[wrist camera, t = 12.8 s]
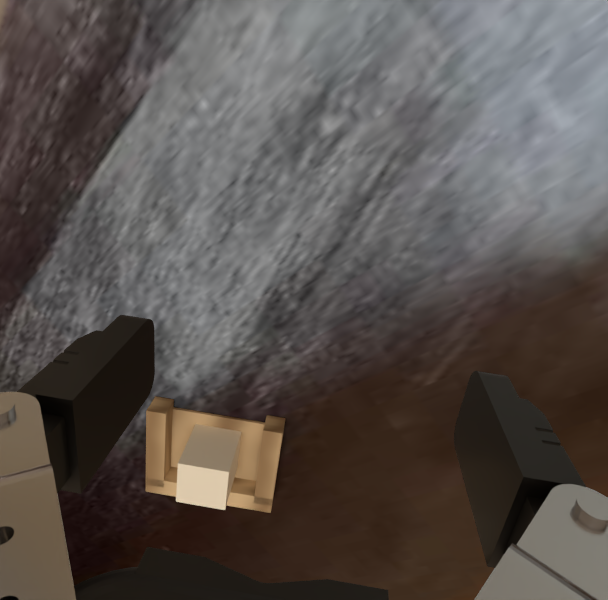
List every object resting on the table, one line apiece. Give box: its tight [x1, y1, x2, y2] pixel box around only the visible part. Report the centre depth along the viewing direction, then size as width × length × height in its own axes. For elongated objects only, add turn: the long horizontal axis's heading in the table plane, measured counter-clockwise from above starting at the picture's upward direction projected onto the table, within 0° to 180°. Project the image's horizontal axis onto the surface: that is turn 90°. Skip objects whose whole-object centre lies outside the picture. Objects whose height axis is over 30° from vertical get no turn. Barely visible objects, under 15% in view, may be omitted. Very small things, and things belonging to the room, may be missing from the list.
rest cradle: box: [146, 396, 285, 513], centre depth 52 cm, size 14×11×2 cm
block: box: [176, 424, 241, 510], centre depth 50 cm, size 5×5×6 cm
